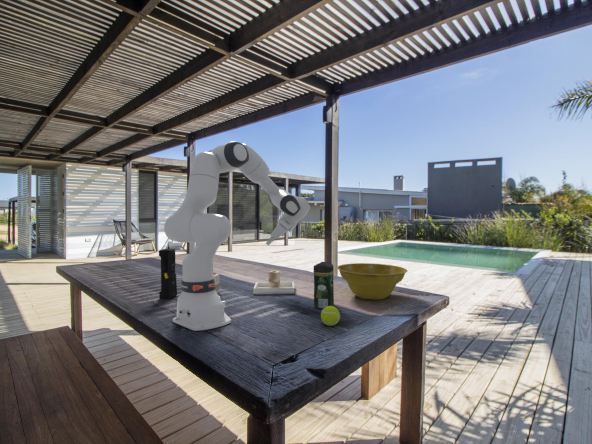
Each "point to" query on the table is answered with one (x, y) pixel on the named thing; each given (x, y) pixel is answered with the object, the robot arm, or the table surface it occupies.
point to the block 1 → (216, 282)
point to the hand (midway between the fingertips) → (267, 244)
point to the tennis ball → (330, 315)
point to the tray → (283, 289)
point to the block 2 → (274, 279)
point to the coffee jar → (323, 285)
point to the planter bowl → (371, 279)
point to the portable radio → (168, 274)
